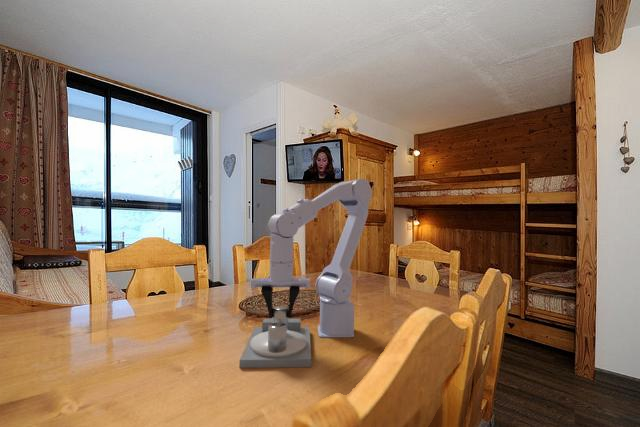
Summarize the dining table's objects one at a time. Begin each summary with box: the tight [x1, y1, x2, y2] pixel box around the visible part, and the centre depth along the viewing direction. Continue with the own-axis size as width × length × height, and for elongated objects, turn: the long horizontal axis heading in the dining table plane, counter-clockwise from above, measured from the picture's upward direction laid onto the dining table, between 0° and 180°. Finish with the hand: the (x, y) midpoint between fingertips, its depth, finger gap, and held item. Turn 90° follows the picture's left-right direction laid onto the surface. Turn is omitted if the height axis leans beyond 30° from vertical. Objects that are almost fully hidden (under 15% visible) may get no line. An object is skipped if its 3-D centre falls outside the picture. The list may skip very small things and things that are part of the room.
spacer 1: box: [271, 305, 289, 330], centre depth 72 cm, size 4×4×5 cm
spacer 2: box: [268, 323, 287, 353], centre depth 64 cm, size 4×4×5 cm
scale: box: [238, 318, 312, 369], centre depth 71 cm, size 15×19×4 cm
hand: (280, 316), depth 72 cm, fingers closed on spacer 1, 4 cm apart
